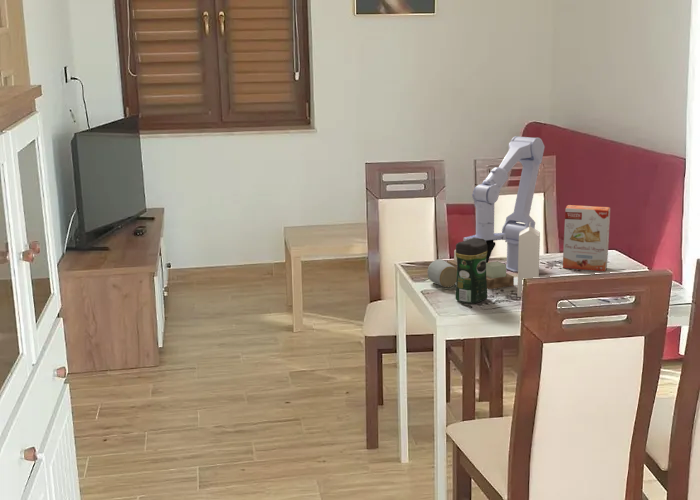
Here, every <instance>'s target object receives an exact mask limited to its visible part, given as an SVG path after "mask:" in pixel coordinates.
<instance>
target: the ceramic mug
mask: <svg viewBox="0 0 700 500" xmlns="http://www.w3.org/2000/svg"><path fill="white" fill-rule="evenodd" d="M426 273H427V277H428V279H429V280H430V281H431V282H432V283H434V284H436V285H439V286H440V287H443V288H451V287H454V286H456V280H457V269H456V268H455V267H454V266H452V265H450V264H449V263H447V261H446V260H444V259H435V260H433V261H432V262H431V263H430V264H429V266H428V267H427V272H426Z"/></svg>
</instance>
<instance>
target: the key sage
mask: <svg viewBox="0 0 700 500" xmlns="http://www.w3.org/2000/svg"><path fill="white" fill-rule="evenodd" d="M506 265H507V263H506V264H505V263H503V262H501V261H499V260H496V261H489V262H488V263H486V276H488V277H490V278H499V277H506V273H507V269H506Z"/></svg>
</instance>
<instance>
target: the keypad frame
mask: <svg viewBox="0 0 700 500" xmlns="http://www.w3.org/2000/svg"><path fill="white" fill-rule="evenodd" d="M446 262H447V263H449V264H450V265H452V266H454V267H455V268H456V269H457V262H455V261H454V259H448V260H446ZM486 279H487V290H495V289H502V288H507V287H514V285H515V275H514V276H513V275H511V274H508V273H507V272H506V277H499V278H490V277H488V276H486Z"/></svg>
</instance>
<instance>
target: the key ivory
mask: <svg viewBox="0 0 700 500" xmlns="http://www.w3.org/2000/svg"><path fill="white" fill-rule="evenodd" d="M453 256H454V257H453V260H454V261H455V262H457V257H456V249H454V251H453Z"/></svg>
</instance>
